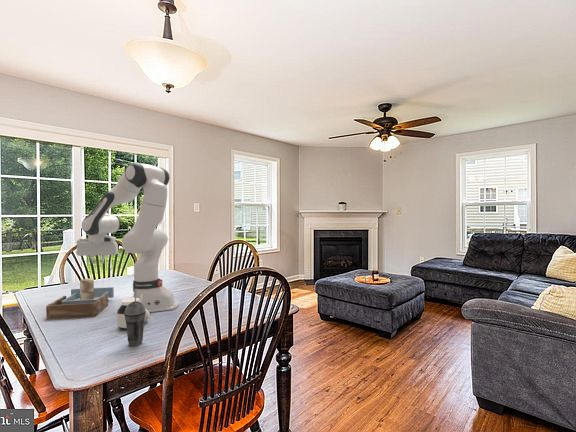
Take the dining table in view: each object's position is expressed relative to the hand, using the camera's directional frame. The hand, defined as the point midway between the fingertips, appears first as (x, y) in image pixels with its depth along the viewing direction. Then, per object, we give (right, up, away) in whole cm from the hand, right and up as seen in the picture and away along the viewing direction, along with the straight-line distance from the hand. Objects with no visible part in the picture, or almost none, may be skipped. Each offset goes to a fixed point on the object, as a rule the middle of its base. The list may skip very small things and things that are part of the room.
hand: (97, 263), depth 178 cm
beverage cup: (+50, -21, -60) cm, 81 cm away
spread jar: (+40, -21, -42) cm, 61 cm away
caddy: (+6, -20, -24) cm, 31 cm away
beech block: (+4, -17, -15) cm, 23 cm away
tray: (+3, -18, -14) cm, 23 cm away
